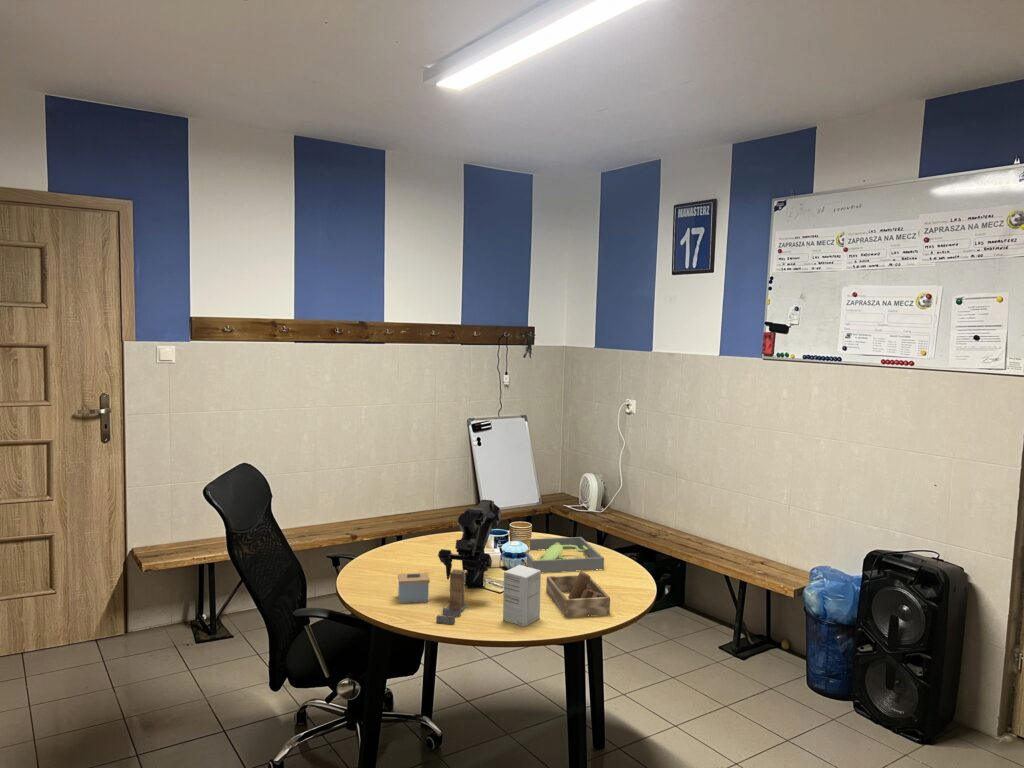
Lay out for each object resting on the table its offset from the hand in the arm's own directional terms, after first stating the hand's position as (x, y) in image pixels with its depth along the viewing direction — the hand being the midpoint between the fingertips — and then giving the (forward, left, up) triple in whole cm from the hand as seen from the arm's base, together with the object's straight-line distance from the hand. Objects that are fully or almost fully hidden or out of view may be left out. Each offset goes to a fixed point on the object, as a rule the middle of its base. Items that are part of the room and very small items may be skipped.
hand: (460, 580), depth 262 cm
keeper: (+6, +12, -9) cm, 16 cm away
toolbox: (+16, -8, -9) cm, 20 cm away
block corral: (-41, +5, -9) cm, 43 cm away
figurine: (-49, -44, -9) cm, 67 cm away
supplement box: (-18, +16, -9) cm, 26 cm away
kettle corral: (-48, -43, -9) cm, 65 cm away
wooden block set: (-44, +5, -9) cm, 45 cm away
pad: (+2, +3, -9) cm, 9 cm away
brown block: (+2, +3, -8) cm, 9 cm away
